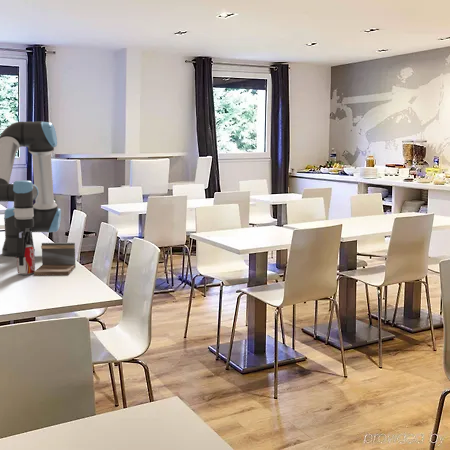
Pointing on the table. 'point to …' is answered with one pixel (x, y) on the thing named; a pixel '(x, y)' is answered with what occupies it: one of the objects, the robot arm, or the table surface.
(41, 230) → the robot arm
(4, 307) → the table surface
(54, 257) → the wooden display stand
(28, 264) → the soda can
